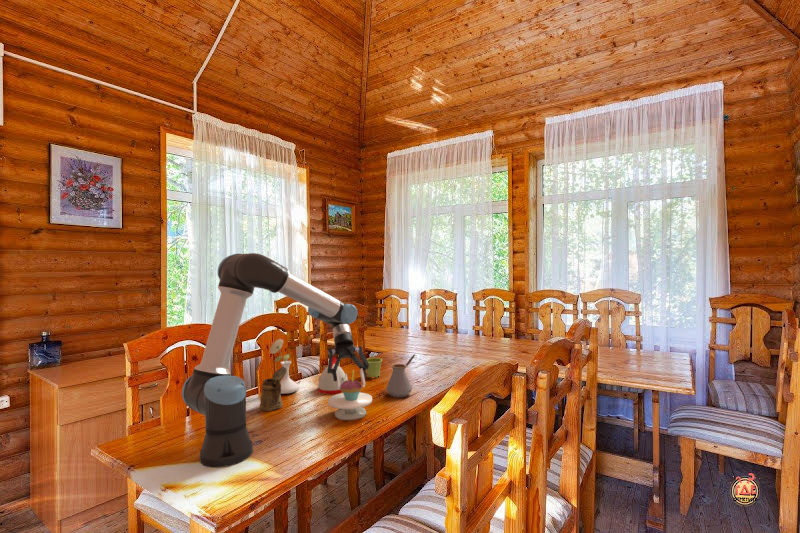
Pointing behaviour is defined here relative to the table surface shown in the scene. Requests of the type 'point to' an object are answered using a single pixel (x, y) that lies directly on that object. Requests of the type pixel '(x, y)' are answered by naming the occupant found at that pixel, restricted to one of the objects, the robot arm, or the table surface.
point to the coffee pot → (399, 381)
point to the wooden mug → (272, 391)
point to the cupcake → (351, 389)
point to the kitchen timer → (331, 380)
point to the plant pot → (374, 367)
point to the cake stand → (350, 406)
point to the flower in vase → (286, 382)
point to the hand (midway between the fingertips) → (351, 386)
